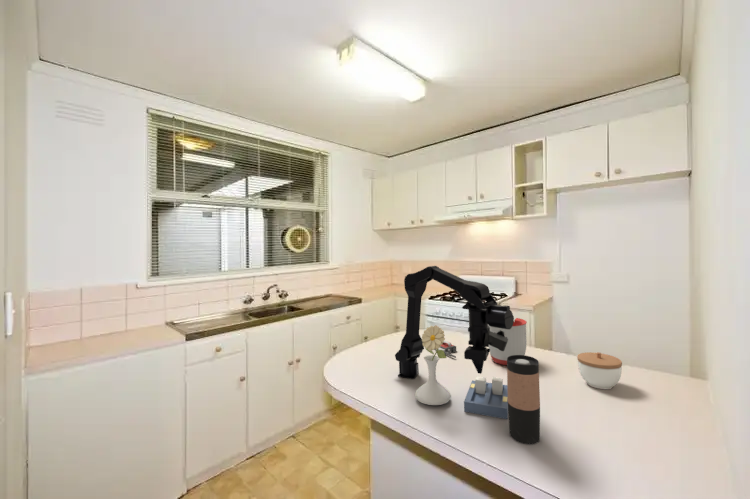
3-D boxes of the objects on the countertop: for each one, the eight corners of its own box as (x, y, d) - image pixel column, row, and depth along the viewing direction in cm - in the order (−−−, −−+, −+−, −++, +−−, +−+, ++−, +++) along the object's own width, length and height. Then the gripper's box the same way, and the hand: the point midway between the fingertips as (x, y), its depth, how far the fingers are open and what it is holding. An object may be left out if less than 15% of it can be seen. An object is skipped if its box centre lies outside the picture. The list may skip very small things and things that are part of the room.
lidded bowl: (574, 386, 113) (573, 354, 113) (582, 374, 122) (581, 344, 122) (619, 397, 105) (619, 362, 104) (624, 383, 114) (624, 351, 114)
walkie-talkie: (425, 348, 159) (453, 361, 142) (425, 339, 159) (453, 350, 141) (439, 345, 163) (469, 357, 146) (439, 336, 163) (468, 347, 146)
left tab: (475, 393, 107) (475, 379, 107) (477, 389, 110) (476, 376, 110) (485, 394, 106) (485, 381, 106) (486, 390, 109) (486, 377, 109)
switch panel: (464, 411, 99) (463, 400, 99) (472, 389, 114) (472, 379, 114) (507, 419, 94) (507, 408, 94) (510, 394, 109) (509, 385, 109)
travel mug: (503, 429, 89) (501, 355, 89) (530, 426, 90) (528, 353, 90) (517, 446, 82) (515, 366, 81) (547, 443, 82) (545, 364, 82)
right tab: (492, 394, 106) (492, 380, 106) (493, 390, 109) (492, 376, 109) (502, 395, 105) (502, 381, 105) (503, 391, 108) (502, 378, 108)
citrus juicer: (530, 356, 142) (529, 310, 141) (524, 371, 127) (523, 319, 127) (493, 351, 150) (491, 307, 150) (483, 364, 136) (481, 315, 135)
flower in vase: (408, 396, 110) (406, 321, 109) (437, 389, 114) (435, 317, 114) (430, 415, 98) (427, 331, 97) (461, 406, 102) (459, 325, 102)
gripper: (503, 334, 93) (505, 389, 93) (507, 319, 110) (508, 365, 110) (463, 331, 98) (464, 383, 98) (472, 317, 115) (474, 361, 115)
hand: (479, 373), depth 105 cm, fingers closed
